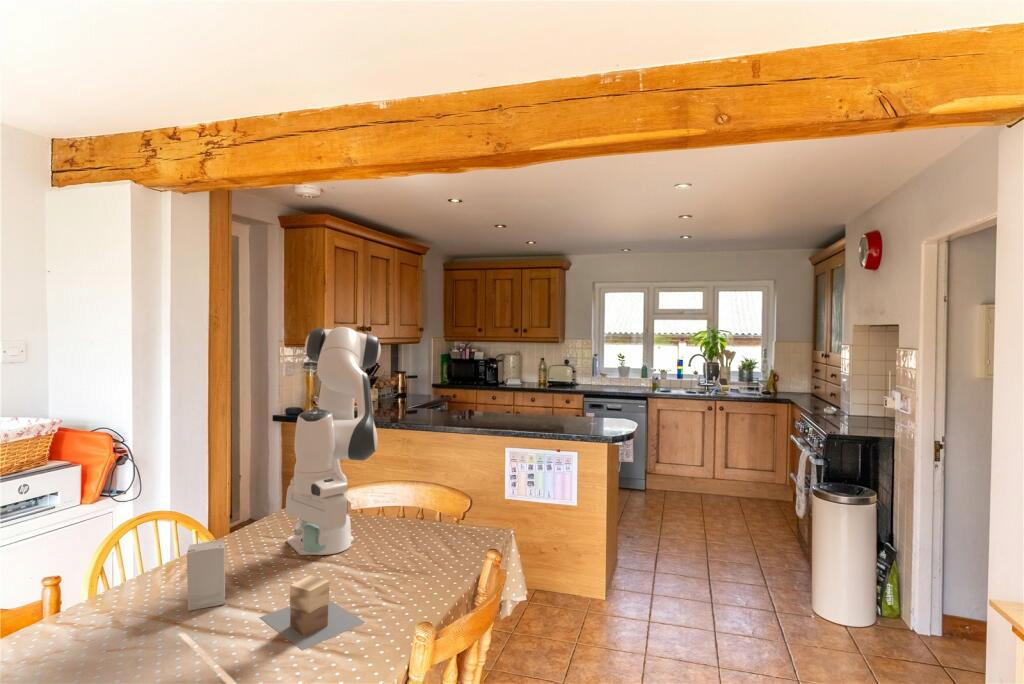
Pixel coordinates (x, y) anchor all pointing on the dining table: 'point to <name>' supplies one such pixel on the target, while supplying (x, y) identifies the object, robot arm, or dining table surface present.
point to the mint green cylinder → (312, 539)
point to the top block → (309, 594)
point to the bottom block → (309, 620)
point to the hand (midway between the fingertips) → (314, 541)
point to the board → (337, 624)
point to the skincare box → (206, 574)
